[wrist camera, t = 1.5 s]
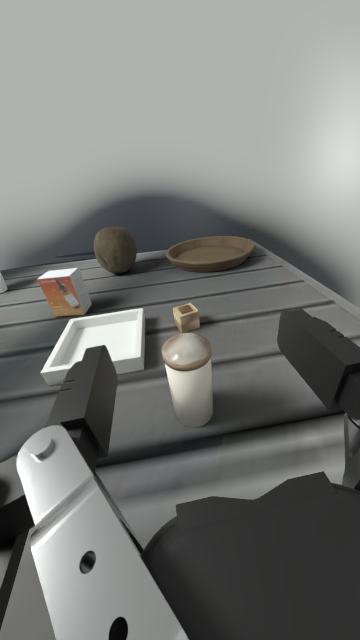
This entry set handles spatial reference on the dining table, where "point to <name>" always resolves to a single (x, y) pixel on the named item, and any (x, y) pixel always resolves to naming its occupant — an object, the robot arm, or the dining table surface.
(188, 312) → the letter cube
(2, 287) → the foam cup
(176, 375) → the canister
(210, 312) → the dining table surface
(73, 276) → the small box
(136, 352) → the tray
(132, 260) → the cantaloupe
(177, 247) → the plant saucer
